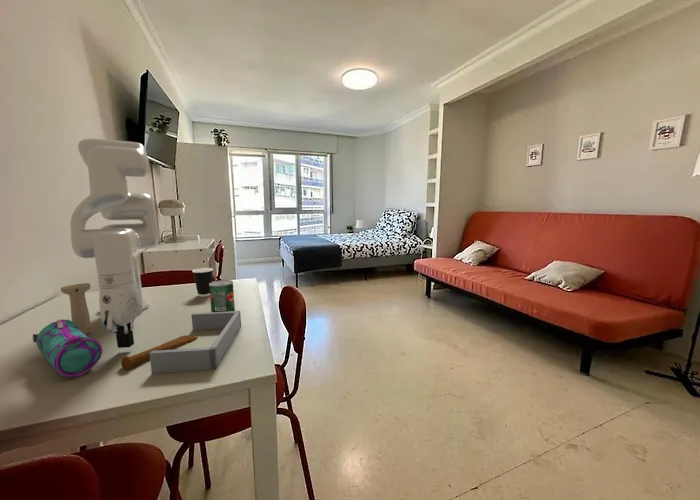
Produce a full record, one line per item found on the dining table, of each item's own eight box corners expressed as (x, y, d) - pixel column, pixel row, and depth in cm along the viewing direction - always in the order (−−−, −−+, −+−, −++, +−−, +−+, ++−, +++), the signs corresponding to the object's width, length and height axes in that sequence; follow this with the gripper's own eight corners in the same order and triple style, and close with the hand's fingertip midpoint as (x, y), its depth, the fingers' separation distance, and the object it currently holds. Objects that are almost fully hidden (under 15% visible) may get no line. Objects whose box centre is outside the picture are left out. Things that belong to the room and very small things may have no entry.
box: (151, 373, 70) (149, 353, 69) (194, 328, 95) (192, 313, 94) (216, 369, 72) (214, 349, 71) (241, 326, 97) (240, 310, 96)
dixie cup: (219, 294, 131) (217, 269, 129) (201, 299, 124) (199, 272, 122) (208, 291, 135) (206, 267, 133) (190, 295, 128) (188, 270, 127)
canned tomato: (209, 311, 109) (206, 282, 108) (231, 307, 114) (229, 278, 112) (214, 318, 103) (211, 287, 101) (237, 313, 108) (235, 283, 106)
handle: (98, 333, 92) (90, 285, 90) (69, 340, 88) (61, 289, 85) (95, 328, 96) (88, 282, 93) (68, 335, 91) (60, 286, 89)
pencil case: (36, 359, 77) (29, 323, 76) (81, 345, 84) (75, 312, 83) (57, 387, 65) (50, 345, 64) (107, 368, 73) (102, 330, 71)
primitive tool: (185, 336, 90) (184, 325, 90) (199, 339, 89) (198, 327, 88) (118, 370, 72) (116, 357, 72) (135, 374, 71) (133, 360, 70)
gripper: (114, 286, 71) (124, 359, 74) (148, 272, 86) (155, 333, 88) (79, 287, 70) (90, 361, 73) (119, 273, 85) (127, 335, 88)
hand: (126, 346), depth 81 cm, fingers closed
